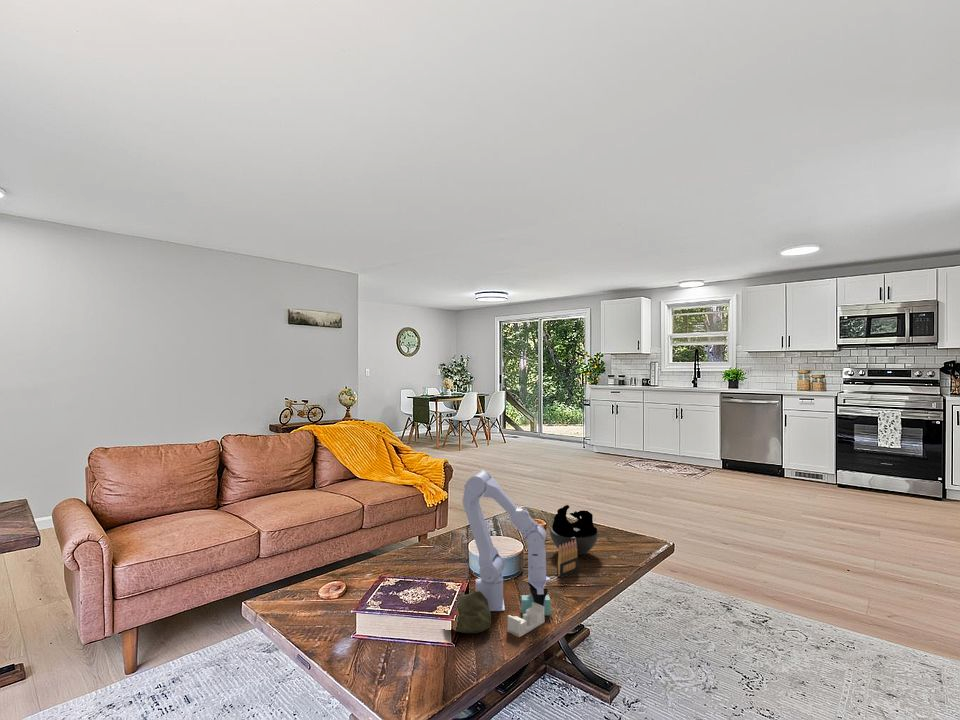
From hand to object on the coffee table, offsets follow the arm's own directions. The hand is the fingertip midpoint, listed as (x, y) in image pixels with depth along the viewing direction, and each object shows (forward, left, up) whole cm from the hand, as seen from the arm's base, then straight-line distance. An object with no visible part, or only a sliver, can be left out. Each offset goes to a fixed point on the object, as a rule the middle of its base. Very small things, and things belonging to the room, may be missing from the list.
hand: (538, 607), depth 168 cm
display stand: (-5, -9, -2) cm, 10 cm away
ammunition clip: (+15, +31, -2) cm, 34 cm away
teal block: (-1, 0, -2) cm, 2 cm away
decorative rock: (-23, -8, -2) cm, 24 cm away
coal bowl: (+21, +50, -2) cm, 54 cm away
